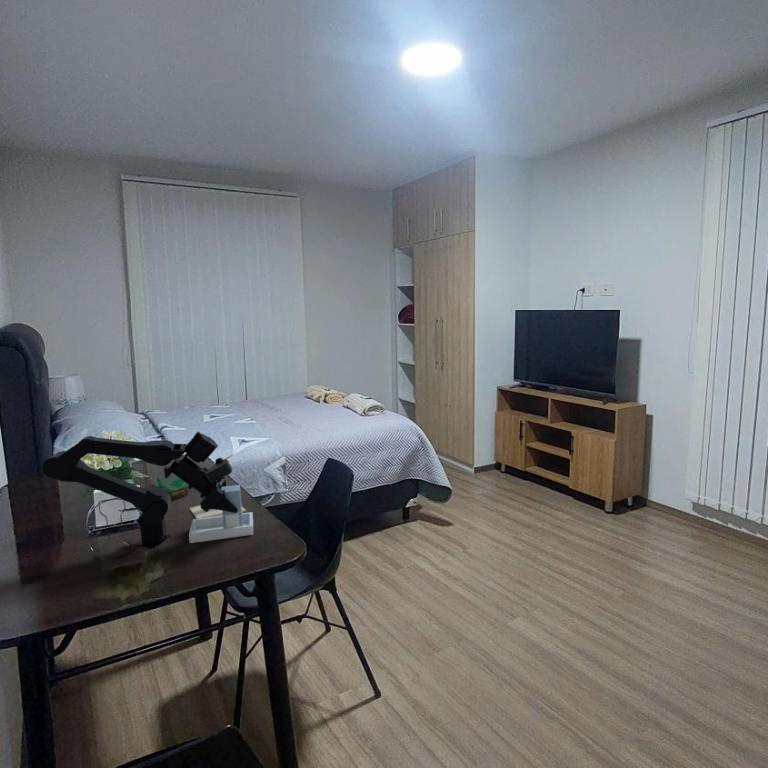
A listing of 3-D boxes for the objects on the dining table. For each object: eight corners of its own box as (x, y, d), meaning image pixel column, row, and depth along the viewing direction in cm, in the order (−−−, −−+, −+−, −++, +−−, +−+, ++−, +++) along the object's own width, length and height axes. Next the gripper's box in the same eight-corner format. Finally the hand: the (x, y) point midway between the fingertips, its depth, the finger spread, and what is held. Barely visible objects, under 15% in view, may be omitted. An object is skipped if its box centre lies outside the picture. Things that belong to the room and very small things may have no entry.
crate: (189, 544, 140) (188, 534, 140) (193, 529, 150) (193, 519, 150) (253, 536, 144) (252, 525, 143) (253, 521, 154) (252, 512, 154)
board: (246, 513, 160) (246, 510, 160) (200, 525, 153) (199, 521, 153) (233, 501, 172) (233, 498, 172) (189, 510, 165) (189, 507, 165)
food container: (167, 504, 172) (164, 474, 170) (157, 500, 175) (154, 471, 174) (200, 493, 181) (197, 465, 180) (189, 490, 185) (187, 462, 184)
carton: (224, 534, 144) (220, 492, 143) (224, 527, 149) (221, 486, 148) (242, 531, 146) (239, 490, 144) (243, 524, 151) (240, 484, 149)
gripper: (210, 461, 135) (256, 497, 139) (215, 444, 153) (256, 476, 157) (180, 494, 134) (228, 529, 138) (188, 473, 152) (231, 505, 156)
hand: (237, 508), depth 147 cm, fingers closed on carton, 5 cm apart
